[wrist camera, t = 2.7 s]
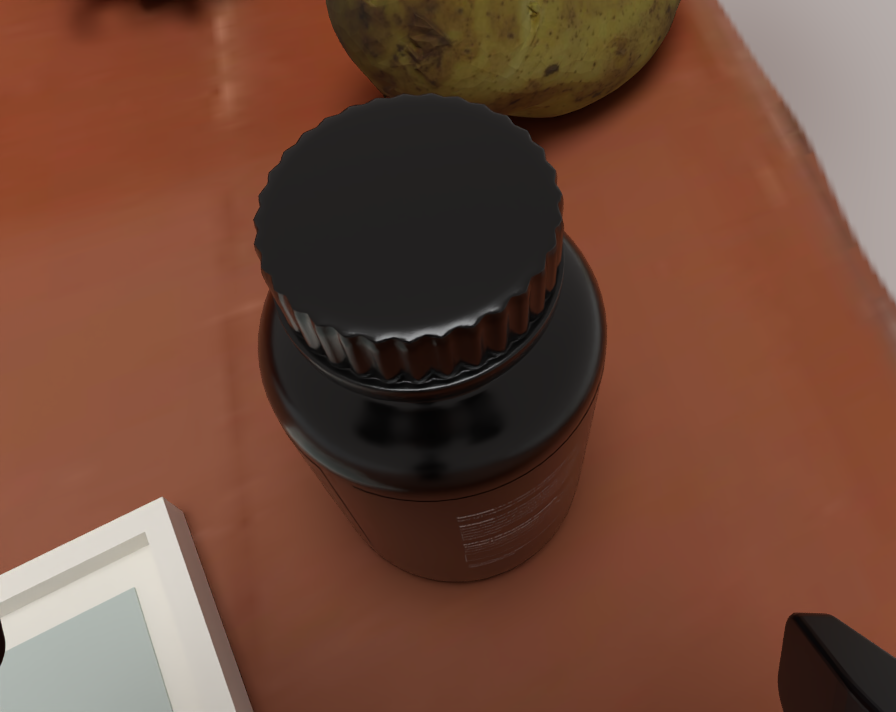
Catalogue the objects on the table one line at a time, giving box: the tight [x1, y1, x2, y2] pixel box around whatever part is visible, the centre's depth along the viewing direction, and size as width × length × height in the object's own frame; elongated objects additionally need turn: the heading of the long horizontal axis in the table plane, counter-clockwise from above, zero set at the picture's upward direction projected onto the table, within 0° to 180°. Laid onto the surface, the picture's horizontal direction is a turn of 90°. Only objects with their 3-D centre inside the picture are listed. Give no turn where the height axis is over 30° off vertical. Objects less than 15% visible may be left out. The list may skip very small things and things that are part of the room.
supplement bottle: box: [253, 93, 607, 582], centre depth 17 cm, size 7×7×12 cm
